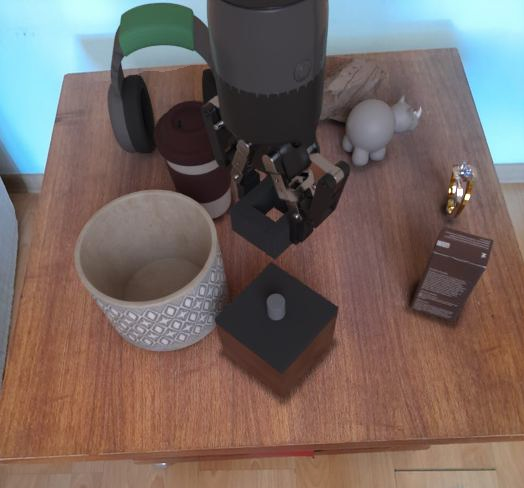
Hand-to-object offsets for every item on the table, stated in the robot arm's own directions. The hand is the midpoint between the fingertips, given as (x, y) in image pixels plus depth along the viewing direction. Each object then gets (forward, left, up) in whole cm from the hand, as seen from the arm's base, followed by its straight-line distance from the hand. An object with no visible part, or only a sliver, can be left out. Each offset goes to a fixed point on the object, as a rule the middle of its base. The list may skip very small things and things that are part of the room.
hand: (274, 220), depth 47 cm
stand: (+3, +3, -20) cm, 20 cm away
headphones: (-16, -33, -20) cm, 42 cm away
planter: (+7, -13, -20) cm, 25 cm away
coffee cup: (-9, -21, -20) cm, 30 cm away
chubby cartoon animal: (-34, -7, -20) cm, 40 cm away
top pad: (0, 0, 0) cm, 0 cm away
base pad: (+3, +3, -12) cm, 12 cm away
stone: (-36, -17, -20) cm, 44 cm away
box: (-15, +15, -20) cm, 29 cm away
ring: (-30, +8, -20) cm, 36 cm away
